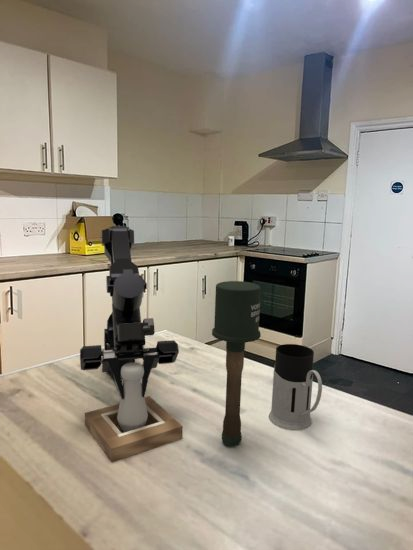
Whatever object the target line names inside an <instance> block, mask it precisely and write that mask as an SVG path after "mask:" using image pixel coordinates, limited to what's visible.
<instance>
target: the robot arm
mask: <svg viewBox="0 0 413 550" xmlns="http://www.w3.org/2000/svg"><path fill="white" fill-rule="evenodd" d="M100 235H101V246H103V247H104V248H103V249H104V255H105V256H106V258H107V259H108V260H109V262H110V266H109V274H108V275H106V279H105V281H106V293H108V294H109V296H110V297H111V302H112V303H111V310H112V312H111V314H110V315H109V316H108V318H107V321H106V328H104V330H103V336H104V337H103V346H104V350H102V349H103V348H102V345H101V344H97V345H95V344H94V345H83V346H82V347H81V348H80V349H79V362H80V370H81V371H92V370H98V369H99V368H100V367H101V372H102V373H107V375H108V376H109V378H110V380H112V382H113V384H114V387H115V388H116V390H117V392H118V395H119V398H121V399H124V391H123V381H122V379H123V378H122V377H121V368H122V366H123V365H125V364H126V363H132V362H135V363H136V360H141V359H142V364H141V365H142V366H143V367H144V375H143V377H142V378H141V385H142V397H146V392H147V391H146V390H147V387H148V381H149V376H150V374H151V371H152V370H153V369H156V368H157V367H158V364H159V365H165V364H174V363H175V362H176V360H177V358H178V355H179V352H180V351H179V350H180V349H179V344H178V343H177V342H176V341H175V340H173V339H172V340H160V341H159V340H158V341H157V342H156V346H155V347H147V348H145V345H146V337H147V336H154V335H155V331H156V330H155V323H154V322H155V321H154V318H153V317H151V318H143V320H142V317H141V308H140V307H141V305H142V302H143V296H144V293H145V290H147V289H148V285H147V284H148V283H147V281H145V279H144V277H143V275H141V274H140V271H139V267H138V265H137V264H136V263H134V262H133V260H132V256H131V255H132V254H131V252H132V251H131V250H132V247H133V246H134V245H135V230H134V229H132V228H130V227H128V226H127V225H111V226H109V227H108V228H105V229H102V230H101V234H100Z"/></svg>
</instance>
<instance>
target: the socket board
mask: <svg viewBox="0 0 413 550" xmlns="http://www.w3.org/2000/svg"><path fill="white" fill-rule="evenodd" d="M144 399H145V404H146V408H147V413H148V418H147V422H146V424H148V425H145V426H144V427H141V428H138V429H135V430H131V431H128V432H122V431H120V430H119V428H118V427H117V425H119V423H118V420H117V415H118V410H119V404H120V403H117V404H113V405H109V406H107V407H102V408H99V409H95V410H90V411H87V412H84V425H85V427H86V428H87V429H88V431H89V432H90V434H91V435H92V437H93V438H94V440H95V441H96V442H97V444H98V445H99V446H100V448H101V450H102V451H103V452H104V454H105V455H106V457H107V458H108V459H109V461H110V462H111V463H113V462H116V461H118V460H122V459H125V458H127V457H128V458H129V457H131V456H134V455H137V454H140V453H143V452H146V451H149V450H152V449H156V448H158V447H160V446H164V445H166V444H169V443H172V442H174V441H175V442H176V441H178V440H181V439H183V434H184V432H183V427H184V426H183V425H182V424H181V423H180V422H179V421H178V420H177V419H176V418H175V417H173V416H172V415H171V414H170V413H169V412H168V411H167V410H166V409H164V407H162V406H161V405H160V404H159V403H158V402H157V401H156V400H154V399H153V398H152V397H151V396H150V395H148V396H144Z"/></svg>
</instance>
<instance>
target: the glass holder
mask: <svg viewBox="0 0 413 550" xmlns="http://www.w3.org/2000/svg"><path fill="white" fill-rule="evenodd" d="M314 353H315V351H314V350H313V349H311V347H308V346H306V345H302V344H296V343H285V344H280V345H278V346H276V348H275V362H274V367H273V377H272V378H273V379H272V393H271V394H272V395H271V408H270V409H271V410H270V412H269V414H268V419H269V421H270V422H271V424H272V425H274V426H276V427H277V428H281V429H283V430H288V431H302V430H306V429H308V428H309V427H311V425H312V423H313V421H312V418H311V413H312V412H314V411H315V410H316V409H317V408H318V405H319V404H320V401H321V397H322V392H323V381H322V378H321V375H320V372H318V371H317V370H314V368H313V367H314ZM314 375H315V377H316V379H317V380H316V381H317V385H318V387H317V395H316V398H315V402H314V404H313V406H312V405H311V403H312V392H313V391H312V390H313V383H314V382H313V380H314ZM311 406H312V407H311Z"/></svg>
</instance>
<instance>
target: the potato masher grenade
mask: <svg viewBox="0 0 413 550" xmlns="http://www.w3.org/2000/svg"><path fill="white" fill-rule="evenodd" d="M261 291H262V289H261V286H260V285H259V284H257V283H254V282H249V281H240V280H229V281H226V280H225V281H221V282H218V283H216V285H215V297H214V300H215V302H214V325H213V326H214V327H213V328H212V330H211V335H212V336H213V338H215V339H216V340H220V341H223V342H225V344H226V345H225V350H226V351H225V352H226V353H225V354H226V355H225V367H226V389H225V413H224V417H223V422H222V432H221V441H222V444H224V445H225V447H228V448H235V447H238V446H239V445H240V443H241V441H242V439H243V438H242V421H241V419H242V418H241V397H242V396H241V393H242V377H243V376H242V375H243V370H244V362H245V349H246V347H245V346H246V344H247V343H252V342H255V341H257V340H259V339H260V338H261V334H262V333H261V331H260V315H261V314H260V312H261V294H262V293H261Z"/></svg>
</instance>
